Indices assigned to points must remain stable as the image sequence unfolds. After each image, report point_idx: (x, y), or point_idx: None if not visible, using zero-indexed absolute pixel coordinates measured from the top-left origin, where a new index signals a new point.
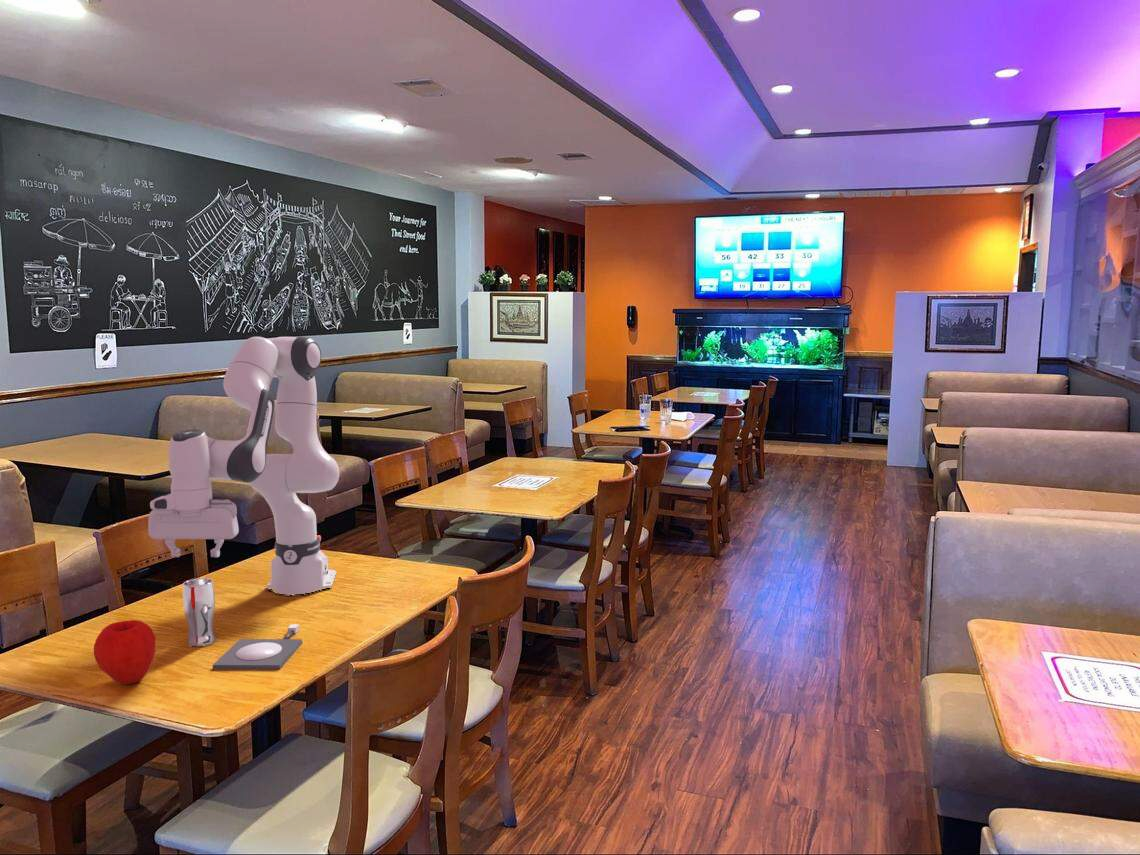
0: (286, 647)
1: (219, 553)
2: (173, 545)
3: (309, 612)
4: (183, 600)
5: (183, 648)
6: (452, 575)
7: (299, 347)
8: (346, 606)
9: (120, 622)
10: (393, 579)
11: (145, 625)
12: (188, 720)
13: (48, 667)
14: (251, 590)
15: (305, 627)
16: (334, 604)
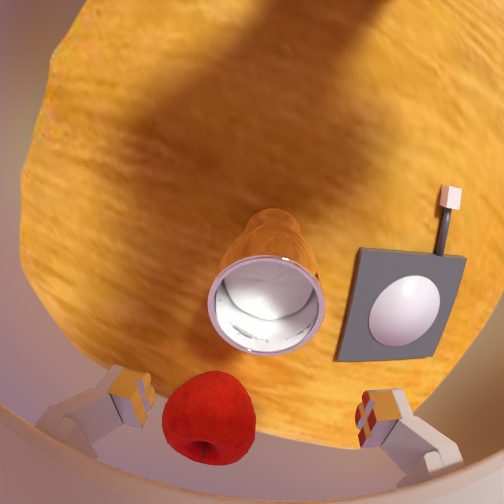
0: (445, 295)
1: (402, 398)
2: (94, 417)
3: (445, 80)
4: (229, 307)
5: None
6: None
7: None
8: (489, 71)
9: (182, 439)
10: None
11: (236, 450)
12: (336, 445)
13: (82, 318)
14: None
15: (460, 170)
16: (468, 51)
